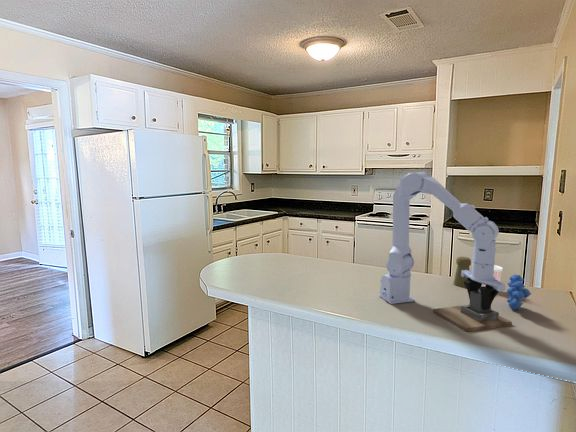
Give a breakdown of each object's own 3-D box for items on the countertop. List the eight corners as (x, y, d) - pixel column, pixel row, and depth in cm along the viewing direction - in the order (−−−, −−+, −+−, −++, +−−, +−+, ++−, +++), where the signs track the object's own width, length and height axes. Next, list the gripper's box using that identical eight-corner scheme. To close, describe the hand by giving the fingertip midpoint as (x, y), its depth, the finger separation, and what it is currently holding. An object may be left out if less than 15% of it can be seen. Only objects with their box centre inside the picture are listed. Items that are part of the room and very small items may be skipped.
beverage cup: (494, 287, 135) (497, 251, 133) (504, 293, 129) (507, 255, 127) (478, 287, 135) (481, 251, 133) (488, 293, 129) (491, 255, 127)
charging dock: (466, 331, 99) (467, 321, 99) (433, 312, 112) (433, 303, 112) (511, 324, 103) (512, 315, 103) (474, 306, 117) (475, 297, 116)
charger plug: (479, 315, 105) (481, 292, 104) (469, 309, 109) (470, 287, 108) (490, 313, 106) (492, 291, 105) (479, 308, 110) (481, 286, 109)
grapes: (534, 319, 107) (538, 280, 106) (508, 315, 110) (511, 278, 108) (525, 305, 118) (528, 270, 116) (501, 302, 121) (504, 267, 119)
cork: (472, 288, 135) (474, 259, 133) (455, 286, 136) (457, 258, 134) (468, 282, 140) (470, 255, 139) (451, 281, 142) (453, 254, 140)
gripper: (515, 268, 99) (511, 314, 101) (475, 255, 113) (472, 296, 115) (495, 270, 97) (491, 317, 99) (456, 257, 111) (453, 298, 113)
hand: (479, 306), depth 107 cm, fingers closed on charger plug, 4 cm apart
